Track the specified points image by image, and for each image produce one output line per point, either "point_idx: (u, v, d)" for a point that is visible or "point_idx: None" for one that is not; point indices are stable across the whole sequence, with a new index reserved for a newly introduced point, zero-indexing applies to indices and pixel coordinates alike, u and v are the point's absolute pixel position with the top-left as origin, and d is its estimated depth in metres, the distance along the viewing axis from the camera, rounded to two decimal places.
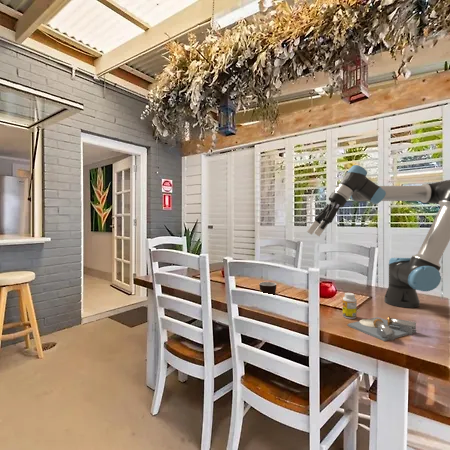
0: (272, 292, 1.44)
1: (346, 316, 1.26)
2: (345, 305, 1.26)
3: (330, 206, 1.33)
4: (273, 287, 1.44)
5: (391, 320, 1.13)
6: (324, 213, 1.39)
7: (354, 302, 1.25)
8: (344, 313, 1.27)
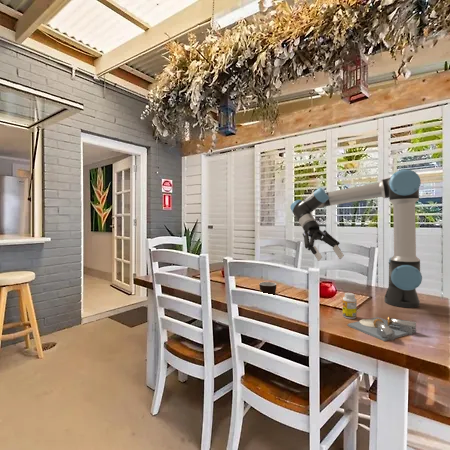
0: (272, 292, 1.44)
1: (346, 316, 1.26)
2: (345, 305, 1.26)
3: None
4: (273, 287, 1.44)
5: (391, 320, 1.13)
6: (323, 239, 1.45)
7: (354, 302, 1.25)
8: (344, 313, 1.27)
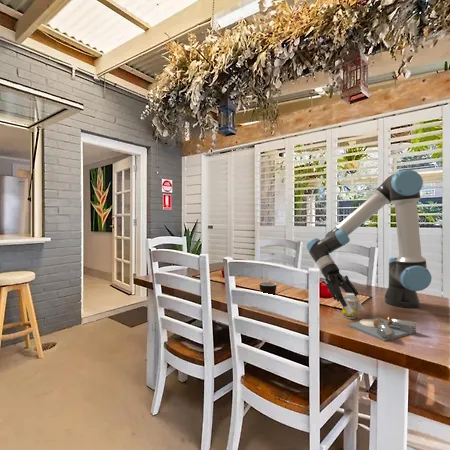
0: (272, 292, 1.44)
1: (346, 316, 1.26)
2: None
3: (331, 282, 1.34)
4: (273, 287, 1.44)
5: (391, 320, 1.13)
6: (342, 286, 1.33)
7: (354, 302, 1.25)
8: (344, 313, 1.27)
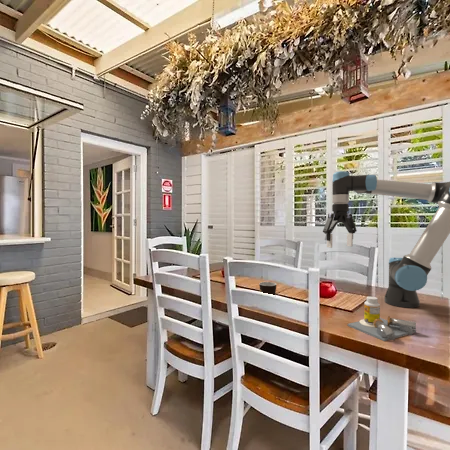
0: (272, 292, 1.44)
1: (369, 322, 1.16)
2: (367, 310, 1.17)
3: None
4: (273, 287, 1.44)
5: (391, 320, 1.13)
6: (344, 223, 1.46)
7: (377, 307, 1.15)
8: (366, 319, 1.17)
